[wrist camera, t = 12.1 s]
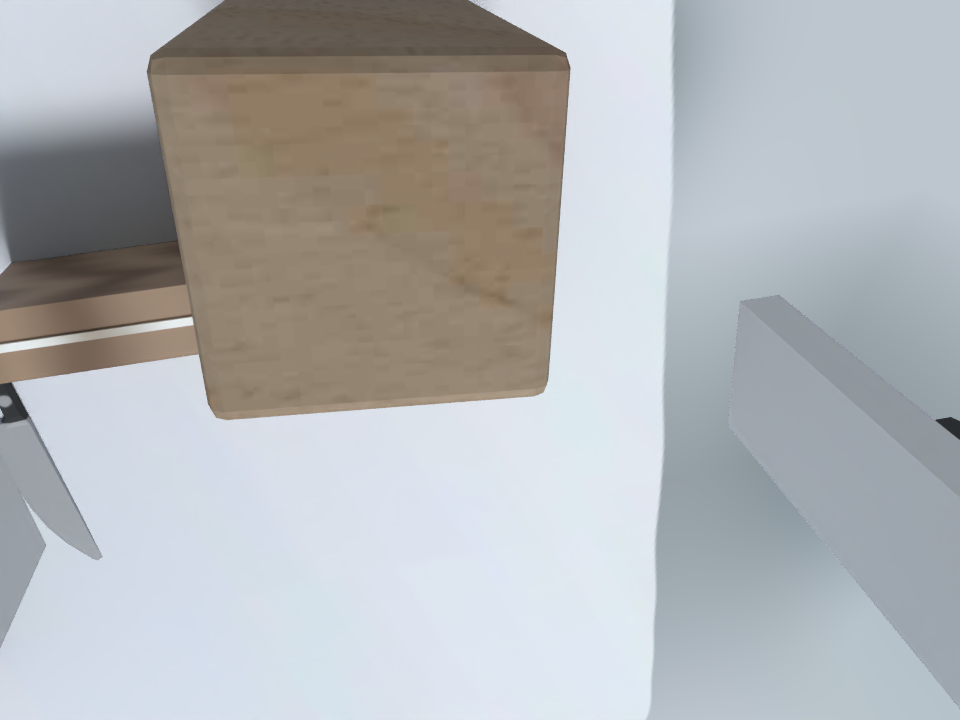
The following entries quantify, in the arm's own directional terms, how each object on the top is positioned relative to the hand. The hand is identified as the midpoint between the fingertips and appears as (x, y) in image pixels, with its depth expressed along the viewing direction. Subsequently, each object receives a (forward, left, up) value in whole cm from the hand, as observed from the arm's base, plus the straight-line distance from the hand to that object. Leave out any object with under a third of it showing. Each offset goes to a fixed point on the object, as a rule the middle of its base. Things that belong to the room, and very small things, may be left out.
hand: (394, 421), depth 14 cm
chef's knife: (-21, -17, -28) cm, 39 cm away
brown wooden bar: (-6, -7, -27) cm, 29 cm away
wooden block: (0, 0, -28) cm, 28 cm away
